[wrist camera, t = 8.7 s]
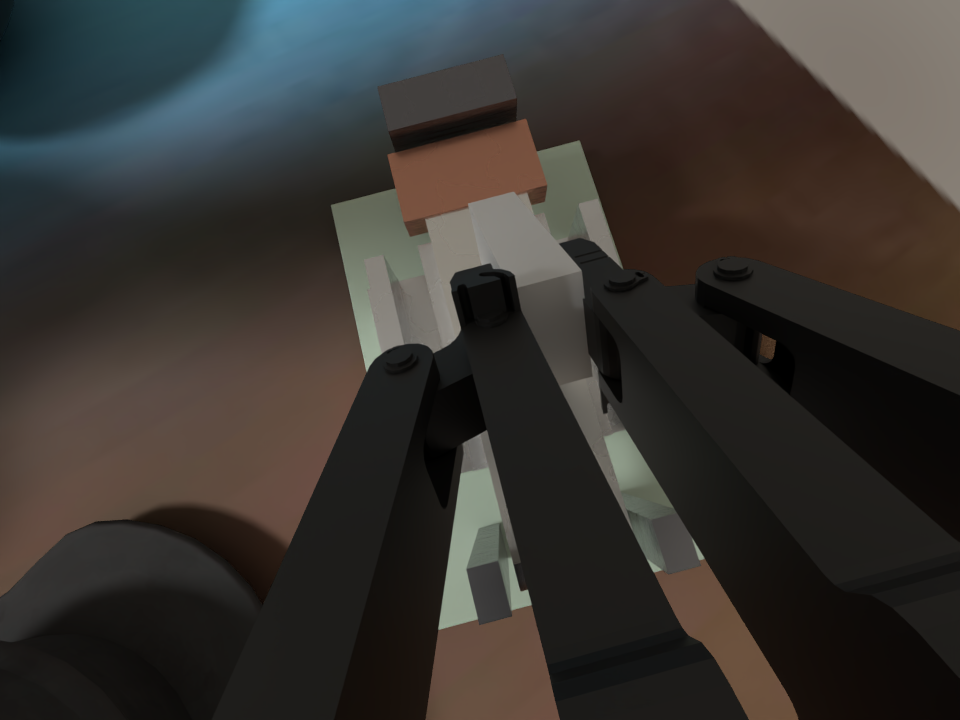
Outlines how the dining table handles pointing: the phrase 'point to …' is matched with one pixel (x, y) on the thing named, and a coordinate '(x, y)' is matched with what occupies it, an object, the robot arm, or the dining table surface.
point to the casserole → (123, 628)
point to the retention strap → (445, 215)
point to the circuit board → (382, 232)
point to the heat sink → (425, 317)
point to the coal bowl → (5, 14)
